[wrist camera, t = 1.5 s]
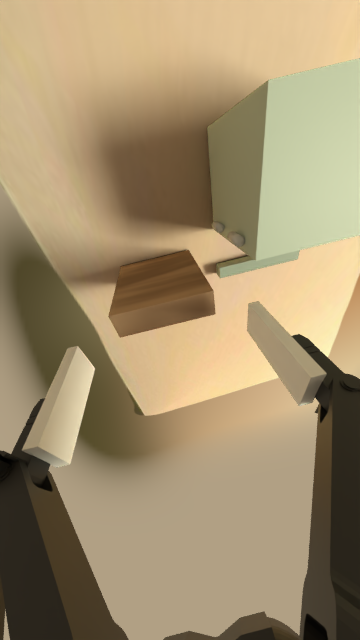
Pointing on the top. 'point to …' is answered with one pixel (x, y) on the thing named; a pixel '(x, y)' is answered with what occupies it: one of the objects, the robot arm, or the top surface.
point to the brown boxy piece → (160, 294)
